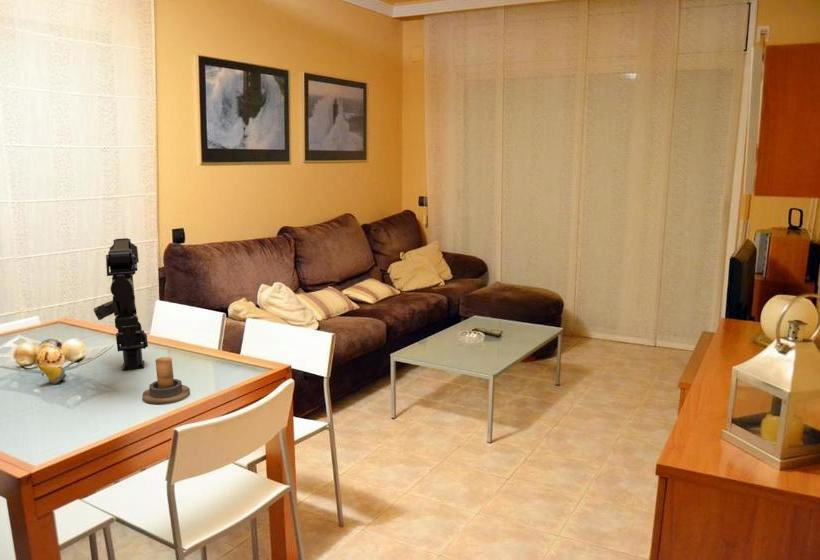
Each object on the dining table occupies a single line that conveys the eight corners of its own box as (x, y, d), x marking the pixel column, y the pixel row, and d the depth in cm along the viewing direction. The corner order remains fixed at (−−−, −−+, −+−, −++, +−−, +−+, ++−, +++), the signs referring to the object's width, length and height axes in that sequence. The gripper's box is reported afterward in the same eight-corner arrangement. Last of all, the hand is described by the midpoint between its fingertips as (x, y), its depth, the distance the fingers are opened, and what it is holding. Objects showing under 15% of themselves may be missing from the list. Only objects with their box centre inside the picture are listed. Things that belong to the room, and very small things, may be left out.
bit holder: (143, 390, 201) (142, 379, 200) (189, 385, 205) (188, 374, 205) (141, 407, 189) (140, 395, 188) (190, 400, 193) (189, 389, 193)
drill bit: (70, 384, 207) (43, 369, 200) (57, 390, 209) (29, 375, 202) (73, 369, 211) (47, 354, 204) (60, 375, 212) (33, 360, 205)
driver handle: (161, 389, 199) (158, 356, 197) (176, 389, 199) (174, 356, 197) (155, 395, 195) (152, 362, 193) (171, 395, 195) (168, 362, 193)
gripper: (94, 289, 206) (99, 339, 209) (93, 300, 189) (98, 354, 192) (133, 286, 211) (138, 334, 213) (136, 297, 194) (140, 349, 197)
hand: (128, 343), depth 204 cm, fingers open, 9 cm apart
